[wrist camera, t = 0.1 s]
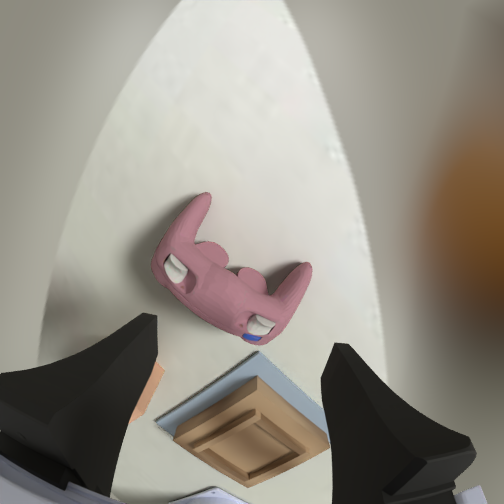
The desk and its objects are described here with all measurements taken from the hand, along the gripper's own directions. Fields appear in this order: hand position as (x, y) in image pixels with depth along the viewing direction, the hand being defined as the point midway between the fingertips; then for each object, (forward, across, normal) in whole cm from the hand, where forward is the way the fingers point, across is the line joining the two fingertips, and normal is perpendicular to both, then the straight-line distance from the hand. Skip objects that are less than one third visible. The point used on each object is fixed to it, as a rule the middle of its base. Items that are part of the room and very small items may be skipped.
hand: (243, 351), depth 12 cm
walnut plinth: (+8, -3, +16) cm, 18 cm away
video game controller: (+11, +1, +1) cm, 11 cm away
